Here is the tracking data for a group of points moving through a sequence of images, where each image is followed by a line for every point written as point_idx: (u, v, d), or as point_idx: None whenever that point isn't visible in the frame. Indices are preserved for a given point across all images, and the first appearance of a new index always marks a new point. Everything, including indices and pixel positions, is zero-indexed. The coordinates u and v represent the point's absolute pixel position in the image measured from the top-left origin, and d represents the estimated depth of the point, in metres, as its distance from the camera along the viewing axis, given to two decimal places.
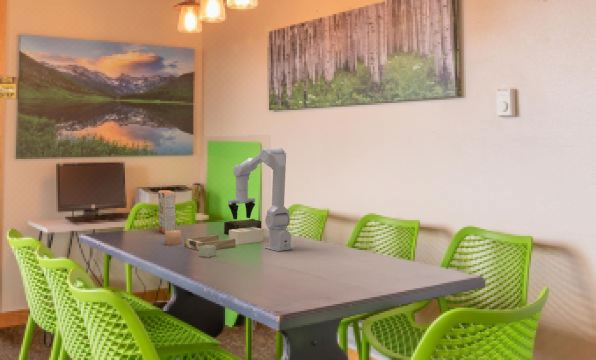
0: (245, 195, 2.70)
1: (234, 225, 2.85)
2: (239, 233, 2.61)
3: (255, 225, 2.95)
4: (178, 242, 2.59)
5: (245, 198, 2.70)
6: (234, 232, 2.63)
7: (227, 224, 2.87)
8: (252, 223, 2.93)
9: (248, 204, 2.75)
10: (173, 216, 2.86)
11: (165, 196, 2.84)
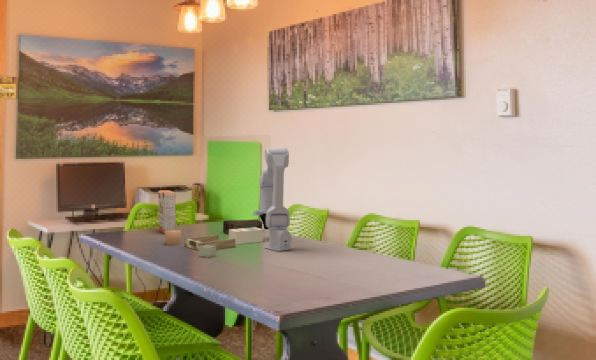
0: (270, 206, 2.73)
1: (228, 224, 2.87)
2: (237, 233, 2.61)
3: (255, 226, 2.93)
4: (178, 242, 2.59)
5: None
6: (233, 232, 2.63)
7: (224, 223, 2.91)
8: (250, 223, 2.92)
9: None
10: (173, 216, 2.86)
11: (165, 196, 2.84)
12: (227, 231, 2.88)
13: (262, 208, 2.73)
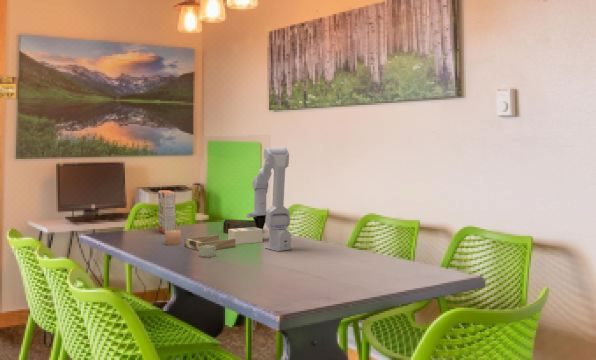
0: (264, 208, 2.70)
1: (224, 223, 2.91)
2: (236, 233, 2.61)
3: None
4: (178, 242, 2.59)
5: (264, 211, 2.71)
6: (232, 231, 2.63)
7: None
8: (248, 224, 2.91)
9: (260, 218, 2.73)
10: (173, 216, 2.86)
11: (165, 196, 2.84)
12: (224, 230, 2.91)
13: (256, 210, 2.71)
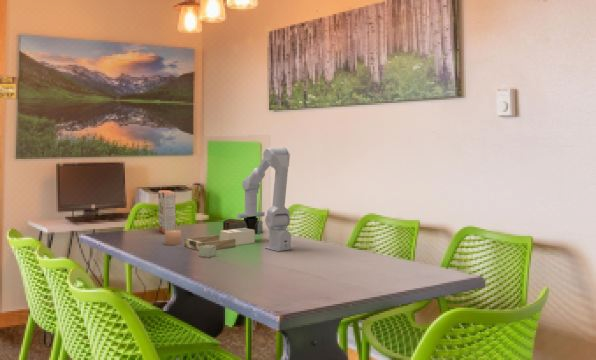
0: (254, 209, 2.67)
1: (224, 222, 2.93)
2: (230, 234, 2.57)
3: None
4: (178, 242, 2.59)
5: (254, 212, 2.67)
6: (225, 233, 2.58)
7: None
8: None
9: (251, 219, 2.69)
10: (173, 216, 2.86)
11: (165, 196, 2.84)
12: (223, 229, 2.94)
13: (246, 211, 2.67)
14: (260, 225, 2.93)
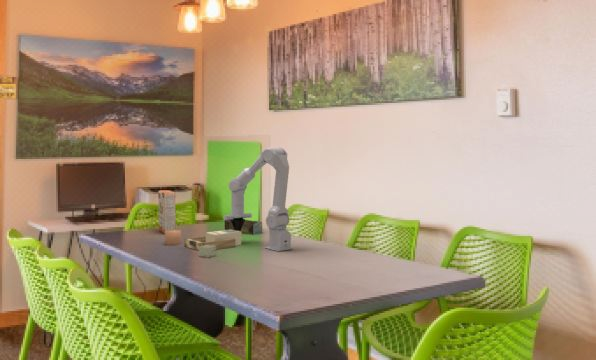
0: (241, 210, 2.62)
1: (225, 221, 2.96)
2: (216, 236, 2.52)
3: (247, 227, 2.89)
4: (178, 242, 2.59)
5: (241, 213, 2.62)
6: (211, 235, 2.54)
7: None
8: (243, 224, 2.90)
9: None
10: (173, 216, 2.86)
11: (165, 196, 2.84)
12: (225, 228, 2.97)
13: (233, 212, 2.62)
14: (258, 226, 2.90)
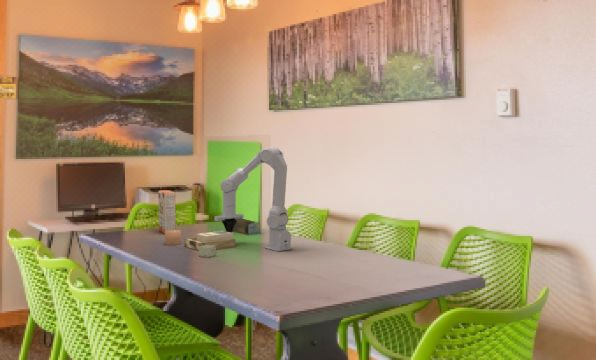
0: (232, 211, 2.59)
1: None
2: (207, 237, 2.49)
3: (244, 227, 2.89)
4: (178, 242, 2.59)
5: (232, 214, 2.59)
6: (202, 236, 2.50)
7: None
8: (241, 224, 2.90)
9: (229, 221, 2.61)
10: (173, 216, 2.86)
11: (165, 196, 2.84)
12: None
13: (224, 213, 2.59)
14: (255, 226, 2.88)
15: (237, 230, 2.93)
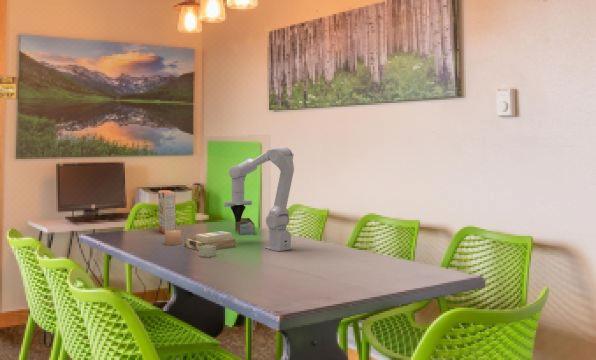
0: (241, 197, 2.61)
1: None
2: (208, 238, 2.48)
3: (239, 227, 2.89)
4: (178, 242, 2.59)
5: (241, 200, 2.62)
6: (202, 237, 2.49)
7: None
8: (237, 223, 2.91)
9: None
10: (173, 216, 2.86)
11: (165, 196, 2.84)
12: (235, 226, 3.03)
13: (233, 199, 2.61)
14: (247, 227, 2.86)
15: (237, 229, 2.95)
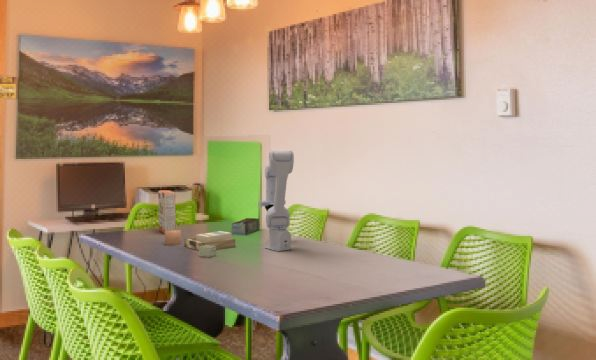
0: None
1: None
2: (208, 238, 2.48)
3: None
4: (178, 242, 2.59)
5: None
6: (203, 237, 2.49)
7: None
8: None
9: (272, 207, 2.67)
10: (173, 216, 2.86)
11: (165, 196, 2.84)
12: None
13: (267, 199, 2.65)
14: (238, 227, 2.86)
15: None
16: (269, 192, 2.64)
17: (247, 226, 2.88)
